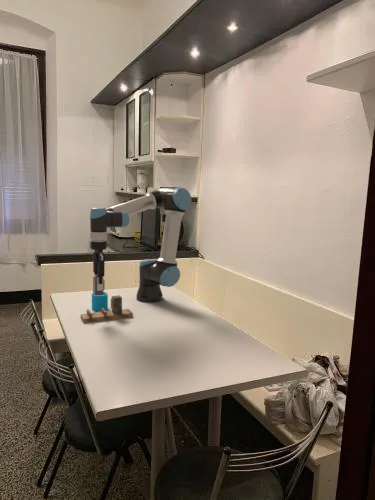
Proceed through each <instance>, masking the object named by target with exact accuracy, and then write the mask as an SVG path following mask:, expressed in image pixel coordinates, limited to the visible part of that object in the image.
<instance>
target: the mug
mask: <svg viewBox="0 0 375 500" xmlns="http://www.w3.org/2000/svg"><path fill="white" fill-rule="evenodd" d="M108 298H109V297H108V293H107V292H106V291H105V292H104V291H103V295H94V294H93V292H92V293H91V311H93V312H101V308H104V309H105V311H108V309H109V305H108V304H109V303H108V300H109V299H108Z"/></svg>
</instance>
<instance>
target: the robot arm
mask: <svg viewBox="0 0 375 500" xmlns="http://www.w3.org/2000/svg"><path fill="white" fill-rule="evenodd" d="M191 203H192V196H191V193H190V191H189V190H188V189H187V188H185V187H180V186H179V187H178V186H176V187H175V186H174V187H173V186H171V187H169V186H165V187H164V186H163V187H161V188H158V189H154V190H152V191H149V192H146V194H145V195H143V196H140V197H137V198H134V199H131V200H129V201H126V202H123V203H118V204H117V205H114V206H111V207H107V208H106V207H92V208H90V213H89V219H90V220H89V223H90V225H89V226H90V233H89V234H88V235H89V237H90V241H89V242H90V249H91V250H94V251H93V252H92V264H93V265H92V266H93V270H92V271H93V273H94V277H97V291H100V290H103V278H104V277H105V263H106V262H105V259H106V257H105V254H104V251H103V250H106V249H108V242H107V240H108V231H107V229H108V228H126V227H128V226H129V224H130V217H131V216H133V215H136V214H139V213H142V212H145V211H147V210H155V209H163V211H164V213H165V218H164V219H165V221H164V226H163V227H164V228H163V235H162V242H161V247H160V253H159V257H158V258H150V259H147V258H146V259H142V260H140V262H139V268H138V269H139V286H138V290H137V292H136V294H135V295H136V300H137V301H139V302H142V303H144V302H145V303H155V302H159V301H162V300H164V299H163V298H164V297H163V296H164V295H163V292H162V289H161V286H162V287H167V288H170V287H173V286H175V285H176V284H177V283H179V282H178V281H179V280H180V277H181V271H180V268H178V264H179V263H178V262H177V260H176V257H177V251H178V246H179V245H178V244H179V237H180V229H181V223H182V218H183V216H184V215H185V214H186V211H187V209H189V207H191V205H192V204H191ZM103 291H104V290H103Z"/></svg>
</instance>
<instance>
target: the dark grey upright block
mask: <svg viewBox="0 0 375 500" xmlns="http://www.w3.org/2000/svg"><path fill="white" fill-rule="evenodd" d="M92 279H93V280H92V293H93V294H94V295H103V292H104V291H105V290H106V289H105V284H106V282H105V278H104V277H103V290H100V291H97V277H95V276H93V277H92Z"/></svg>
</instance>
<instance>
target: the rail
mask: <svg viewBox="0 0 375 500" xmlns="http://www.w3.org/2000/svg"><path fill="white" fill-rule="evenodd" d="M110 309H111V310H105V309H104V308H101V311H95V312H92V311H90V309H89V308H88V309H86V313H81V314H80V320H81V321H82V322H83V324H87V323H94V322H104V321H110V320H111V321H112V320H119V319H128V318H133V316H134V313H133V312H132V311H131V310H130V309H129V308H124V309H123V297H122V296H121V295H112V296H111V298H110Z"/></svg>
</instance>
